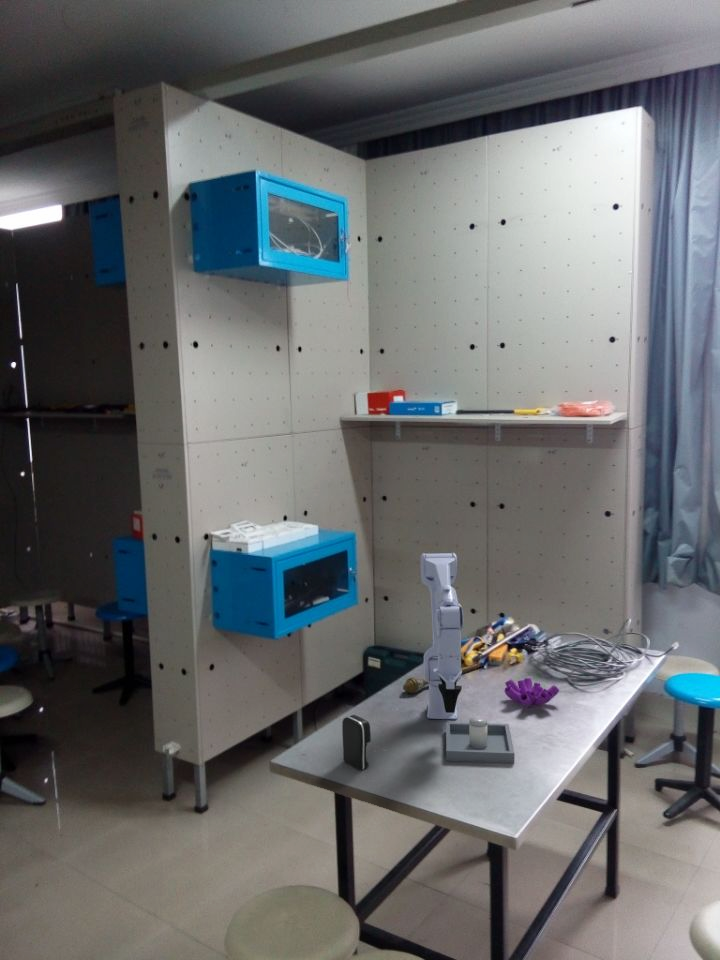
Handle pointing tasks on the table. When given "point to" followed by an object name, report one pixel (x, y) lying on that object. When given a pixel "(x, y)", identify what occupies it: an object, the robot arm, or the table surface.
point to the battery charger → (355, 741)
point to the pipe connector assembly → (529, 692)
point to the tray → (495, 751)
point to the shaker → (478, 732)
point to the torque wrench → (416, 684)
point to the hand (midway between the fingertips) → (449, 705)
